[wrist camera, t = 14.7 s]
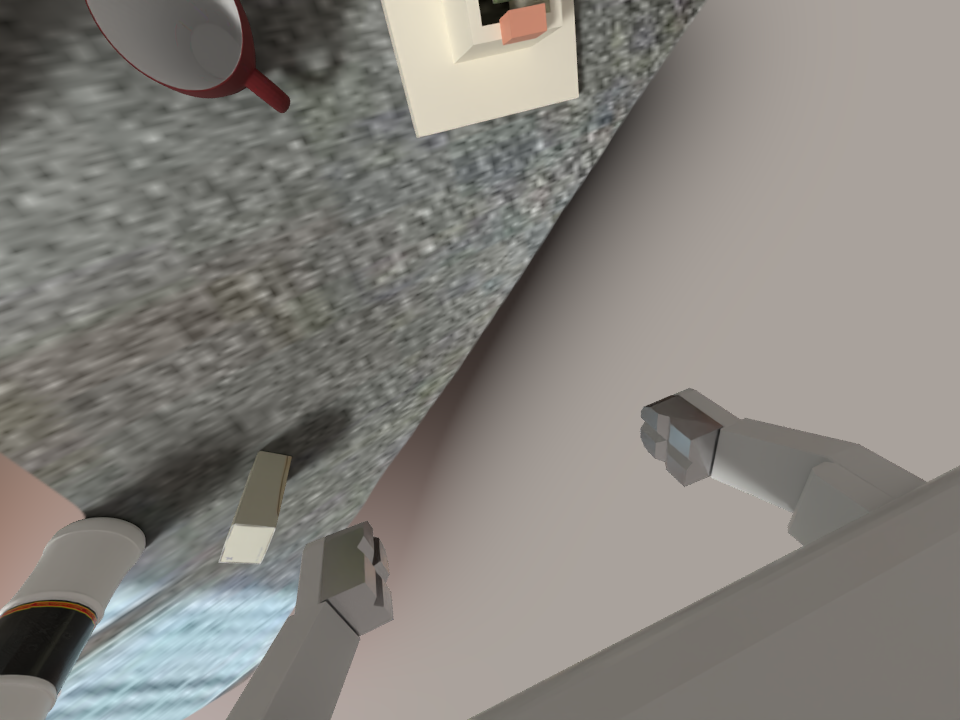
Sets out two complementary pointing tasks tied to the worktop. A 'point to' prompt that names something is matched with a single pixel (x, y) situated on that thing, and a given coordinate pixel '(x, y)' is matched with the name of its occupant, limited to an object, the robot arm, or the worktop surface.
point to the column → (500, 1)
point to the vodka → (60, 611)
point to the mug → (188, 45)
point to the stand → (481, 59)
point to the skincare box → (257, 510)
